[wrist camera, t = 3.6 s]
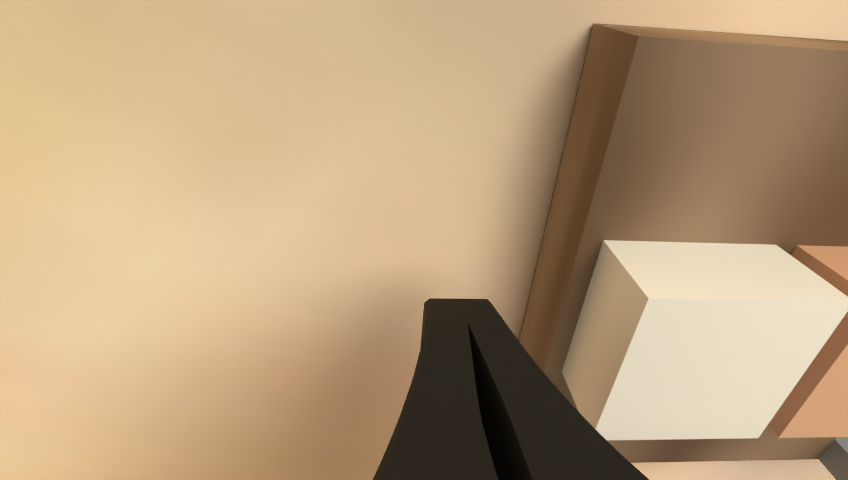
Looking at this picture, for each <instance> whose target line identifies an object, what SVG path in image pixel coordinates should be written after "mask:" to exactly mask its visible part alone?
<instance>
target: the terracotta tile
mask: <svg viewBox="0 0 848 480" xmlns="http://www.w3.org/2000/svg"><path fill="white" fill-rule="evenodd" d="M791 256H792V257H794V258H795V259H796V260H798V261H799V262H801V263H802V264H803V265H805V266H806V267H808V268H809V269H810V270H812V271H813V272H814V273H816V274H817V275H819V276H820V277H821V278H823V279H824V280H825V281H827V282H828V283H830V284H831V285H832V286H834V287H835V288H837V289H838V290H839V291H841V292H842V293H843V294H845V295H846V296H848V247H844V246H805V245H797V246H796V248H795V249H794V251H793V253H792V254H791ZM768 426H769V427H770V428H771V430H772V431H773V432H774V433H775V434H776V436H777V437H778V438H810V437H848V312H847V313H846V314H845V316H844V317H843V319H842V320H841V322H840V323H839V324H838V326H837V327H836V329H835V330H834V331H833V333H832V334H831V336H830V337H829V339H828V340H827V341H826V343H825V344H824V346H823V347H822V348H821V350H820V351H819V353H818V354H817V356H816V357H815V358H814V360H813V361H812V363H811V364H810V366H809V367H808V368H807V370H806V371H805V373H804V374H803V375H802V377H801V378H800V380H799V381H798V383H797V384H796V385H795V387H794V388H793V390H792V391H791V392H790V394H789V395H788V397H787V398H786V400H785V401H784V402H783V404H782V405H781V407H780V408H779V410H778V411H777V412H776V414H775V415H774V417H773V418H772V419H771V421H770V422H769V424H768Z"/></svg>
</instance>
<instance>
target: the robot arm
mask: <svg viewBox="0 0 848 480" xmlns="http://www.w3.org/2000/svg"><path fill="white" fill-rule="evenodd" d="M373 480H649V479H648V478H647V477H646V476H644V475H643V474H642V473H641V472H640V471H639V470H638V469H637V468H635V467H634V466H633V465H632V464H631V463H630V462H629V461H628V460H627V459H626V458H625V457H624V456H622V455H621V454H620V453H619V452H618V451H617V450H616V449H615V448H614V447H613V446H612V445H611V444H610V443H609V442H608V441H607V440H606V439H605V438H604V437H603V436H602V435H601V434H600V433H599V432H598V431H597V430H596V429H595V428H594V427H593V426H592V425H591V424H590V423H589V422H588V421H587V420H586V419H585V418H584V417H583V416H582V415H581V414H580V413H579V411H578V410H577V409H576V408H575V407H574V406H573V405H572V404H571V403H570V402H569V401H568V399H567V398H566V397H565V396H564V395H563V394H562V393H561V392H560V391H559V389H558V388H557V387H556V386H555V385H554V384H553V383H552V381H551V380H550V379H549V378H548V377H547V375H546V374H545V373H544V372H543V371H542V369H541V368H540V367H539V366H538V364H537V363H536V362H535V361H534V360H533V358H532V357H531V356H530V355H529V353H528V352H527V351H526V350H525V348H524V347H523V346H522V344H521V343H520V342H519V341H518V339H517V338H516V337H515V335H514V334H513V333H512V331H511V330H510V329H509V327H508V326H507V324H506V323H505V322H504V320H503V319H502V318H501V316H500V315H499V313H498V312H497V311H496V309H495V308H494V306H493V305H492V304H491V303H490V301H489V300H488V299H429V300H428V301H426V302H425V303H424V313H423V325H422V337H421V350H420V353H419V357H418V361H417V365H416V369H415V373H414V376H413V380H412V383H411V386H410V389H409V392H408V394H407V397H406V400H405V403H404V406H403V409H402V412H401V415H400V417H399V420H398V423H397V425H396V428H395V430H394V433H393V435H392V438H391V440H390V442H389V445H388V447H387V449H386V452H385V454H384V456H383V459H382V461H381V463H380V465H379V468H378V470H377V472H376V474H375V476H374V478H373Z"/></svg>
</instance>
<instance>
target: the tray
mask: <svg viewBox="0 0 848 480" xmlns="http://www.w3.org/2000/svg"><path fill="white" fill-rule="evenodd" d="M819 460H820V461H821V462H822V464H823V465H824V466H825V467H826V468H827V469H828V470H829V472H830V473H831V474H832V475H833V476H834V477H835V479H836V480H848V437H837V438H836V439H835V440H834V441H833V443H832V444H831V445H830V446H829V447H828V448H827V450H826V451H825V452H824V453H823V454H822V456H821V457H820V458H819Z"/></svg>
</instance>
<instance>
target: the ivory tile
mask: <svg viewBox="0 0 848 480" xmlns="http://www.w3.org/2000/svg"><path fill="white" fill-rule="evenodd" d="M847 312H848V296H846V295H845V294H843V293H842V292H841V291H839V290H838V289H837V288H835V287H834V286H832V285H831V284H830V283H828V282H827V281H825V280H824V279H823V278H821V277H820V276H819V275H817V274H816V273H814V272H813V271H812V270H810V269H809V268H808V267H806V266H805V265H803V264H802V263H801V262H799V261H798V260H796V259H795V258H794V257H792V256H791V255H790V254H788V253H787V252H785V251H784V250H783V249H781V248H780V247H779V246H777V245H767V244H729V243H691V242H653V241H615V240H603V243H602V246H601V249H600V252H599V256H598V259H597V262H596V265H595V268H594V271H593V275H592V278H591V281H590V284H589V287H588V290H587V294H586V297H585V300H584V303H583V306H582V309H581V313H580V316H579V319H578V322H577V325H576V328H575V332H574V335H573V338H572V341H571V344H570V347H569V351H568V354H567V357H566V360H565V363H564V366H563V370H562V373H563V376H564V378H565V381H566V383H567V385H568V388H569V390H570V392H571V395H572V397H573V400H574V402H575V404H576V407H577V409H578V411H579V413H580V414H581V415H582V416H583V417H584V418H585V419H586V420H587V421H588V422H589V423H590V424H591V425H592V426H593V427H594V428H595V429H596V430H597V431H598V432H599V433H600V434H601V435H602V436H603V437H604V438H605V439H606V440H671V439H741V438H759V436H760V435H761V434H762V432H763V431H764V429H765V428H766V427H767V425H768V424H769V422H770V421H771V419H772V418H773V417H774V415H775V414H776V412H777V411H778V410H779V408H780V407H781V405H782V404H783V402H784V401H785V400H786V398H787V397H788V395H789V394H790V392H791V391H792V390H793V388H794V387H795V385H796V384H797V383H798V381H799V380H800V378H801V377H802V375H803V374H804V373H805V371H806V370H807V368H808V367H809V366H810V364H811V363H812V361H813V360H814V358H815V357H816V356H817V354H818V353H819V351H820V350H821V348H822V347H823V346H824V344H825V343H826V341H827V340H828V339H829V337H830V336H831V334H832V333H833V331H834V330H835V329H836V327H837V326H838V324H839V323H840V322H841V320H842V319H843V317H844V316H845V314H846V313H847Z"/></svg>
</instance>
